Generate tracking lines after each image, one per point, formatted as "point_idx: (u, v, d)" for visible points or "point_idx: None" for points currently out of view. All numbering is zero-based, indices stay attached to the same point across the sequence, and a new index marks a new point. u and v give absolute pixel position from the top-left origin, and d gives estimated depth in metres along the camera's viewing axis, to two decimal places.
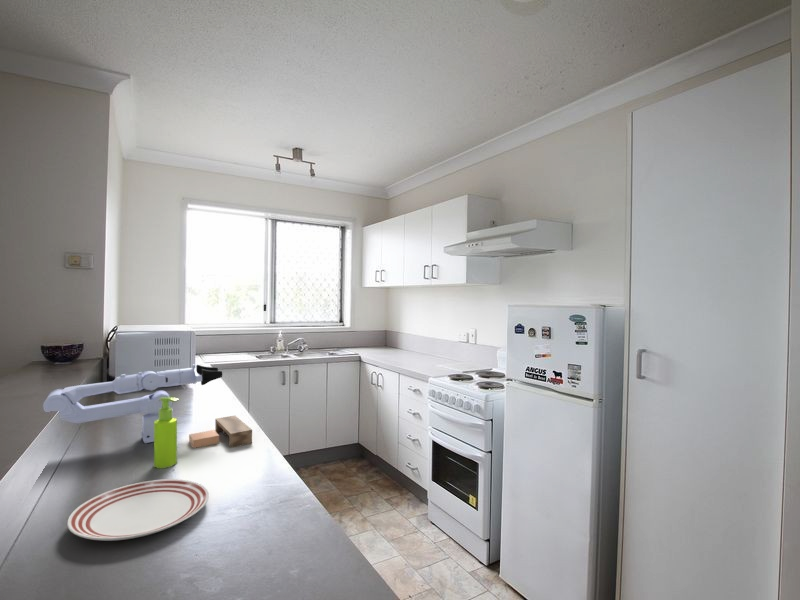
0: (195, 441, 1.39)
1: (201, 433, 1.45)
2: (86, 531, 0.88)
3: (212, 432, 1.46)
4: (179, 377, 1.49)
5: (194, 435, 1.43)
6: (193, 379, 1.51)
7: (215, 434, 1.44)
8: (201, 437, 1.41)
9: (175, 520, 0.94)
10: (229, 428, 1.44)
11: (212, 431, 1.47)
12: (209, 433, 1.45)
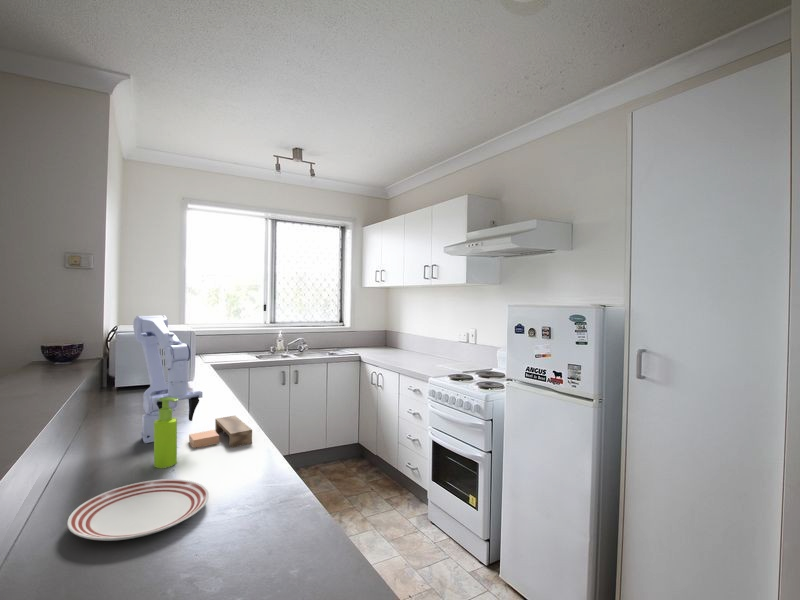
0: (195, 441, 1.39)
1: (201, 433, 1.45)
2: (86, 531, 0.88)
3: (212, 432, 1.46)
4: (169, 381, 1.36)
5: (194, 435, 1.43)
6: None
7: (215, 434, 1.44)
8: (201, 437, 1.41)
9: (175, 520, 0.94)
10: (229, 428, 1.44)
11: (212, 431, 1.47)
12: (209, 433, 1.45)
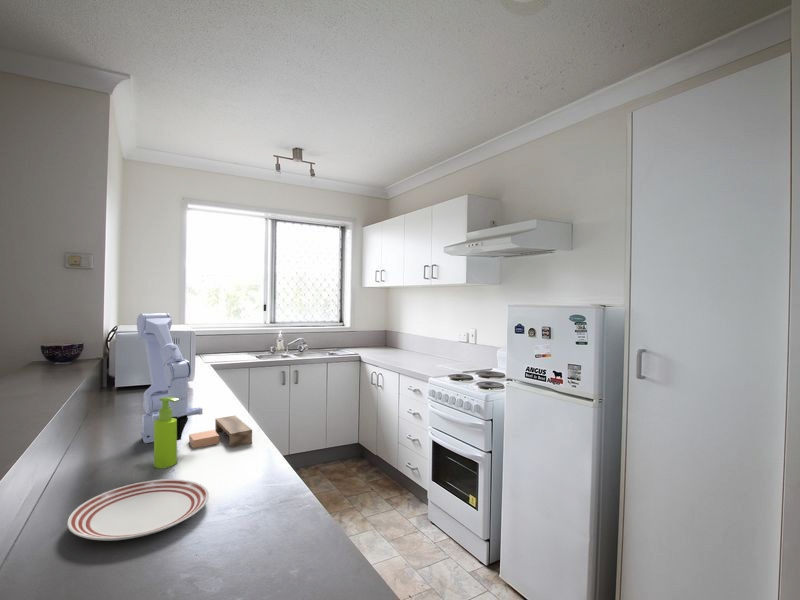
0: (195, 441, 1.39)
1: (201, 433, 1.45)
2: (86, 531, 0.88)
3: (212, 432, 1.46)
4: None
5: (194, 435, 1.43)
6: None
7: (215, 434, 1.44)
8: (201, 437, 1.41)
9: (175, 520, 0.94)
10: (229, 428, 1.44)
11: (212, 431, 1.47)
12: (209, 433, 1.45)
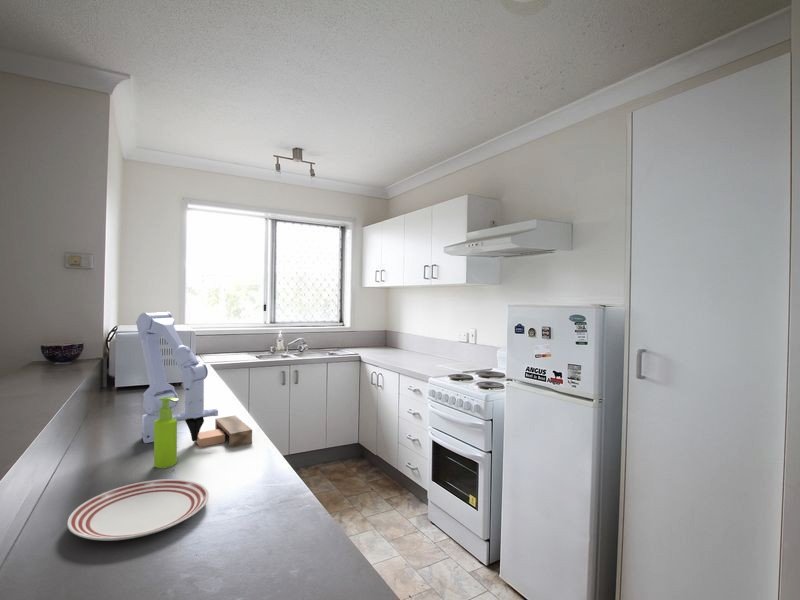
0: (201, 440, 1.40)
1: (207, 432, 1.46)
2: (86, 531, 0.88)
3: (218, 431, 1.47)
4: (187, 401, 1.39)
5: (200, 434, 1.44)
6: (184, 413, 1.41)
7: (221, 433, 1.45)
8: (207, 436, 1.42)
9: (175, 520, 0.94)
10: (229, 428, 1.44)
11: (218, 430, 1.48)
12: (215, 432, 1.46)
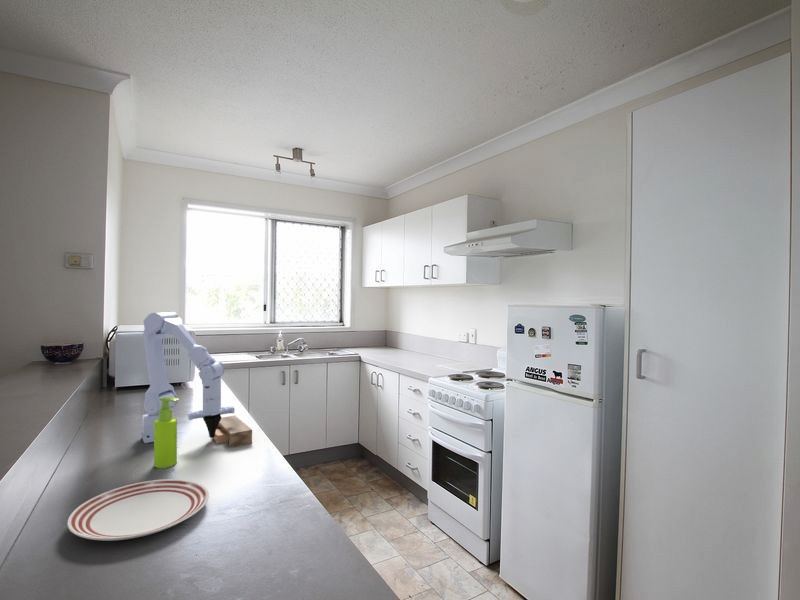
0: (218, 436, 1.43)
1: None
2: (86, 531, 0.88)
3: None
4: (207, 398, 1.42)
5: (217, 431, 1.47)
6: (202, 410, 1.44)
7: None
8: (224, 433, 1.46)
9: (175, 520, 0.94)
10: (229, 428, 1.44)
11: None
12: None
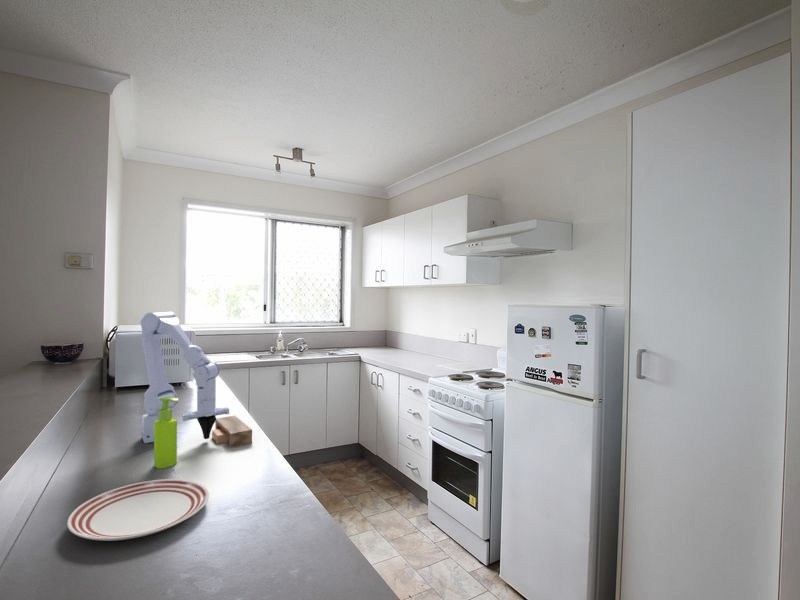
0: (218, 436, 1.43)
1: None
2: (86, 531, 0.88)
3: None
4: (201, 399, 1.41)
5: (217, 431, 1.47)
6: (197, 411, 1.43)
7: None
8: (224, 433, 1.46)
9: (175, 520, 0.94)
10: (229, 428, 1.44)
11: None
12: None
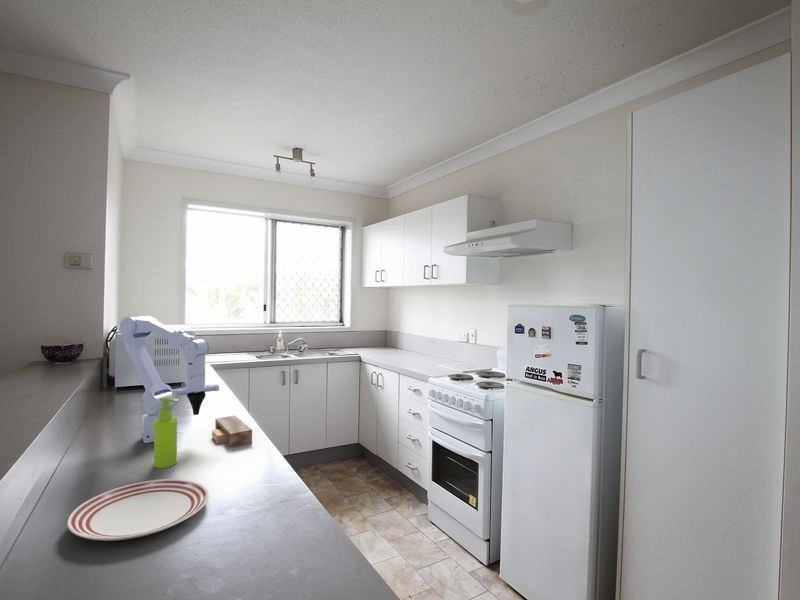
0: (218, 436, 1.43)
1: None
2: (86, 531, 0.88)
3: None
4: (190, 375, 1.42)
5: (217, 431, 1.47)
6: (186, 387, 1.44)
7: None
8: (224, 433, 1.46)
9: (175, 520, 0.94)
10: (229, 428, 1.44)
11: None
12: None
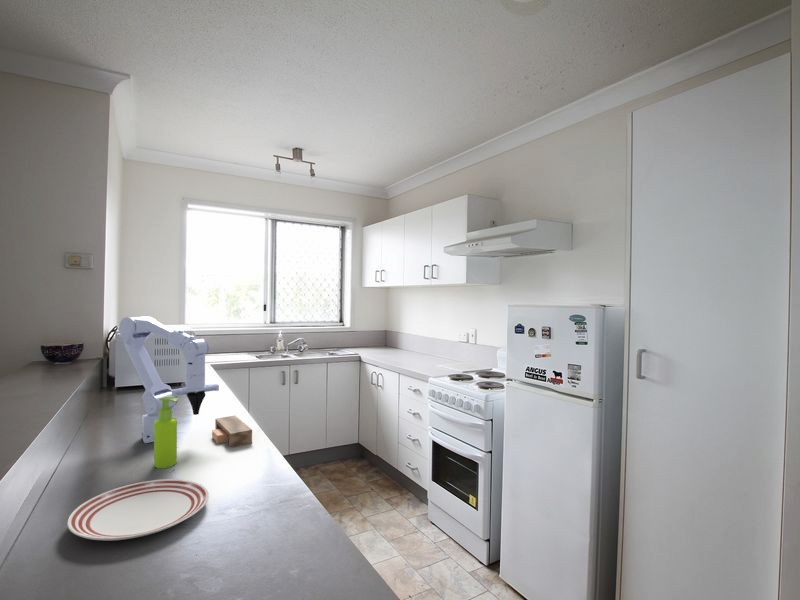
0: (218, 436, 1.43)
1: None
2: (86, 531, 0.88)
3: None
4: (190, 375, 1.42)
5: (217, 431, 1.47)
6: (186, 387, 1.44)
7: None
8: (224, 433, 1.46)
9: (175, 520, 0.94)
10: (229, 428, 1.44)
11: None
12: None
